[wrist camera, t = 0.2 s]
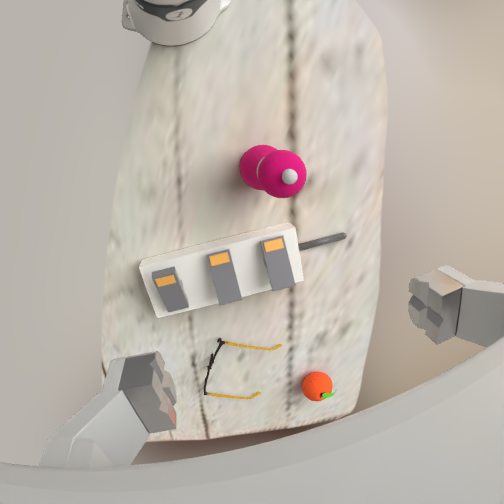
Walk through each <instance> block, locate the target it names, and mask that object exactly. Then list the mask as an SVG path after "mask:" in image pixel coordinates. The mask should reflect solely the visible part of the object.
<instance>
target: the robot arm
mask: <svg viewBox="0 0 504 504" xmlns="http://www.w3.org/2000/svg"><path fill="white" fill-rule="evenodd" d="M229 5H230V0H124V5H123V15H122V25H123V27H124V28H125V29H128V30H132V31H137V32H138V33H140V34H141V35H143V36H144V37H145V38H146V39H148V40H150V41H152V42H154V43H157V44H161V45H168V46H174V45H182V44H186V43H189V42H192V41H194V40H196V39H198V38H199V37H201V36H202V35H204V34H205V33H206V32H207V31H208V30H209V29H210V28H211V27H212V25H213V24H214V22H215V20H216V18H217V16H218V15H219V14H220V13H221V12H222V11H223V10H225V9H226V8H227V7H228V6H229ZM128 16H129V17H130V18H127V17H128ZM409 292H410V293H411V294H412V297H411V299H410V301H409V315H410V318H411V320H412V322H413V323H414V324H415V325H416V326H417V327H418V328H421V329H425V331H426V332H425V333H426V335H427V336H428V337H429V338H430V339H431V340H432V341H433V342H435V343H436V344H440V343H442V342H444V341H446V340H448V339H450V338H452V337H454V336H456V337H458V338H461V339H464V340H467V341H470V342H472V343H476V344H478V345H481V346H484V347H487V348H485V349H484V350H482V351H480V352H479V353H477V354H475V355H474V356H472V357H470V358H469V359H467V360H465V361H464V362H462V363H460V364H458V365H457V366H455V367H453V368H451V369H450V370H448V371H446V372H444V373H442V374H440V375H438V376H436V377H435V378H433V379H431V380H429V381H427V382H425V383H423V384H421V385H419V386H417V387H415V388H413V389H411V390H408V391H406V392H404V393H402V394H400V395H398V396H396V397H393V398H391V399H389V400H387V401H384V402H382V403H380V404H377V405H375V406H373V407H370V408H368V409H365V410H363V411H361V412H358V413H355V414H353V415H350V416H348V417H345V418H342V419H339V420H337V421H334V422H331V423H328V424H325V425H323V426H320V427H317V428H314V429H310V430H307V431H304V432H301V433H298V434H295V435H291V436H288V437H284V438H281V439H278V440H274V441H270V442H266V443H262V444H258V445H254V446H250V447H246V448H242V449H237V450H232V451H228V452H223V453H218V454H213V455H208V456H202V457H196V458H190V459H183V460H176V461H169V462H161V463H152V464H141V465H130V464H131V463H132V461H133V460H134V458H135V456H136V455H137V454H138V452H139V450H140V449H141V447H142V446H143V444H144V443H145V441H146V440H147V438H148V437H149V435H150V434H149V433H155V432H161V431H166V430H172V429H176V411H175V409H174V407H173V406H174V404H175V403H176V391H175V386H174V383H173V380H172V378H171V375H170V373H168V372H167V371H165V370H164V363H165V362H164V360H163V358H162V356H161V354H160V353H159V352H158V351H156V352H151V353H145V354H140V355H134V356H129V357H123V358H118V359H113V360H112V361H111V362H110V365H109V368H108V372H107V375H106V378H105V382H104V385H103V388H102V392H101V393H100V394H96V395H95V396H94V397H93V398H92V399H91V400H90V401H89V402H87V403H86V404H85V405H84V406H83V407H82V408H81V409H80V410H79V411H78V412H77V413H75V414H74V416H72V417H71V418H70V419H69V420H68V421H67V422H66V423H65V424H63V426H62V427H60V428H59V429H58V430H57V431H56V432H55V433H54V434H53V435H52V436H50V437H49V438H48V440H47V443H46V446H45V449H44V452H43V455H42V458H41V461H40V464H39V466H29V465H18V464H9V463H1V462H0V504H504V283H498V282H490V281H483V280H477V281H474V280H473V279H471V278H469V277H468V276H466V275H464V274H462V273H460V272H459V271H457V270H455V269H453V268H451V267H450V266H446V265H444V266H442V267H439V268H437V269H435V270H433V271H430V272H428V273H426V274H423V275H420V276H418V277H416V278H413V279H411V280H410V283H409Z"/></svg>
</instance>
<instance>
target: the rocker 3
mask: <svg viewBox="0 0 504 504" xmlns="http://www.w3.org/2000/svg"><path fill="white" fill-rule="evenodd" d="M260 245H261V249H262V253H263V256H264V260H265V264H266V268H267V272H268V276H269V280H270V284H271V288H272V291H276V290H280V289H284V288H287V287H291V286H295V281H294V277H293V272H292V268H291V264H290V260H289V256H288V252H287V248H286V244H285V241H284V237H283V235H282V236H278V237H274V238H270V239H266V240H262V241H260Z"/></svg>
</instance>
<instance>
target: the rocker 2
mask: <svg viewBox="0 0 504 504" xmlns="http://www.w3.org/2000/svg"><path fill="white" fill-rule="evenodd" d="M206 256H207V260H208V264H209V268H210V272H211V276H212V279H213V283H214V287H215V291H216V295H217V298H218V302H219V306H220V305H224V304H227V303H231V302H235V301H239V300H242V296H241V293H240V289H239V285H238V281H237V277H236V273H235V269H234V266H233V262H232V258H231V254H230V250H229V249H227V250H223V251H219V252H215V253H211V254H207V255H206Z"/></svg>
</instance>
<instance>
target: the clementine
mask: <svg viewBox="0 0 504 504" xmlns="http://www.w3.org/2000/svg"><path fill="white" fill-rule="evenodd" d="M302 390H303V393H304V395H305V396H306V397H307V398H308V399H310V400H312V401H321V400H324V399H325V398H328V397H331V396H332V395H334V394H335V392H336V391H335V392H334V393H331V391H332V381H331V379H330V377H329V376H328V375H327V374H325V373H322V372H313V373H311V374H309V375H308V376H307V377H306V378H305V379H304V381H303V384H302Z"/></svg>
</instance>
